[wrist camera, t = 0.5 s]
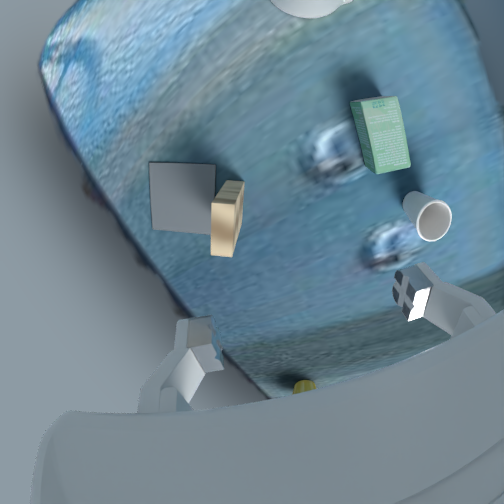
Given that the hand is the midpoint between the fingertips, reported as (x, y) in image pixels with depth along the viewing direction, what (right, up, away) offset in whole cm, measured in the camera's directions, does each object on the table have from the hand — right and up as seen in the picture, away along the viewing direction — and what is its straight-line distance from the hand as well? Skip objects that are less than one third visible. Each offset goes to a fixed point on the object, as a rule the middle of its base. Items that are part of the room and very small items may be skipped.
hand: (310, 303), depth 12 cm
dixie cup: (+32, +13, +41) cm, 54 cm away
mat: (-17, +13, +45) cm, 50 cm away
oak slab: (-6, +12, +45) cm, 47 cm away
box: (+21, +25, +35) cm, 48 cm away
